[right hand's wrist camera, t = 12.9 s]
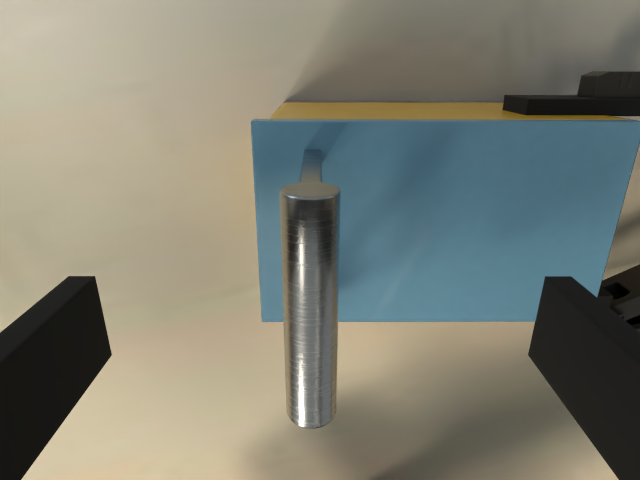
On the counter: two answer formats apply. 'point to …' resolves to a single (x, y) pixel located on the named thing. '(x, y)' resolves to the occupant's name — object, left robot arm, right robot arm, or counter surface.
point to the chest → (412, 111)
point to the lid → (424, 225)
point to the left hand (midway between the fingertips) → (498, 205)
